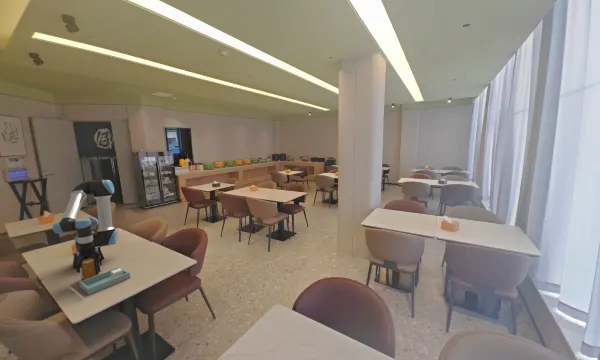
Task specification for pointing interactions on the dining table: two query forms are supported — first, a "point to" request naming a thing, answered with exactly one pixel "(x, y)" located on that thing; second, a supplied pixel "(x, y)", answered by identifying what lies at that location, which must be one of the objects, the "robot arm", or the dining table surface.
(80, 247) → the robot arm
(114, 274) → the cream cube
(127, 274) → the teal tray
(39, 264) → the dining table surface
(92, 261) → the canister
